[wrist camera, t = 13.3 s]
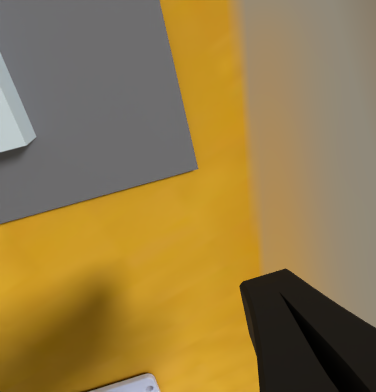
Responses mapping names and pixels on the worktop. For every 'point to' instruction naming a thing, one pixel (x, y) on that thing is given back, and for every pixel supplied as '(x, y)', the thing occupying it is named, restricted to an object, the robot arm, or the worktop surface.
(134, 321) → the worktop surface
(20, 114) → the block
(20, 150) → the mat
